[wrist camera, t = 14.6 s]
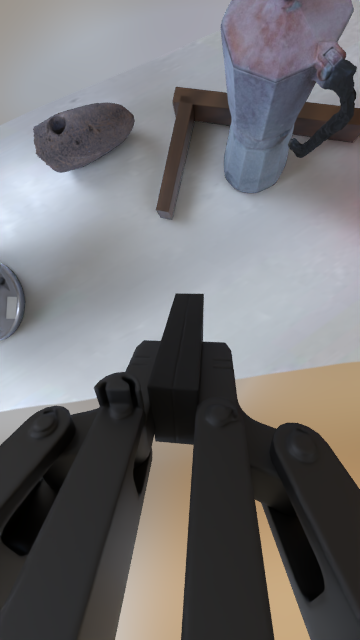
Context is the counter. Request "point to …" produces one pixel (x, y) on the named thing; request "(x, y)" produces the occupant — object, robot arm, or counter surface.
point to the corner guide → (217, 111)
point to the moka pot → (280, 81)
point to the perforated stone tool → (81, 135)
